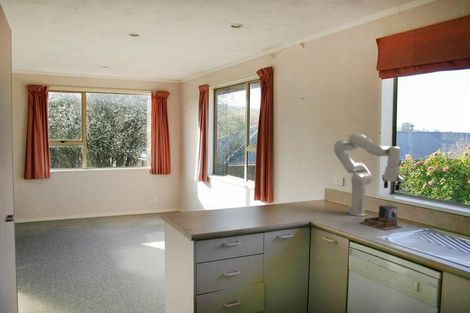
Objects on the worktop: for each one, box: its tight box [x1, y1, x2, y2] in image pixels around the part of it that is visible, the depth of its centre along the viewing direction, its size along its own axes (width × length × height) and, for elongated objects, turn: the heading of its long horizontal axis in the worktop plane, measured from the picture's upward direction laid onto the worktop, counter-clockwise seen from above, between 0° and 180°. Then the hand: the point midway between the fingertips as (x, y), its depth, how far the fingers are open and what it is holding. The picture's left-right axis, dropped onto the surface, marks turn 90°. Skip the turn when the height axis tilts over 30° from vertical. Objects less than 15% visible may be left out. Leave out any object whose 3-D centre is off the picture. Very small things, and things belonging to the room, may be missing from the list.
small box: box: [378, 205, 398, 222], centre depth 266 cm, size 11×6×10 cm, turn 101°
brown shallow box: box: [359, 216, 402, 231], centre depth 252 cm, size 20×16×4 cm
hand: (391, 189), depth 263 cm, fingers open, 9 cm apart
